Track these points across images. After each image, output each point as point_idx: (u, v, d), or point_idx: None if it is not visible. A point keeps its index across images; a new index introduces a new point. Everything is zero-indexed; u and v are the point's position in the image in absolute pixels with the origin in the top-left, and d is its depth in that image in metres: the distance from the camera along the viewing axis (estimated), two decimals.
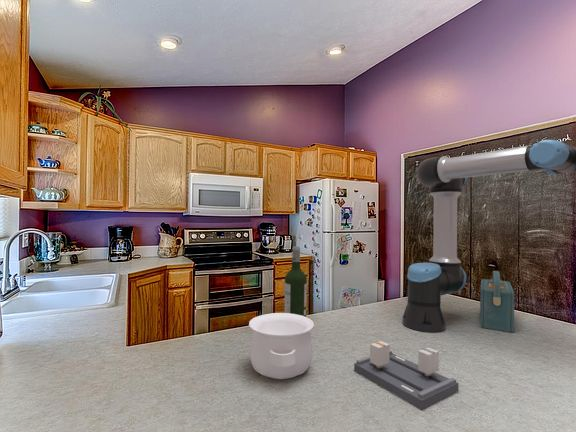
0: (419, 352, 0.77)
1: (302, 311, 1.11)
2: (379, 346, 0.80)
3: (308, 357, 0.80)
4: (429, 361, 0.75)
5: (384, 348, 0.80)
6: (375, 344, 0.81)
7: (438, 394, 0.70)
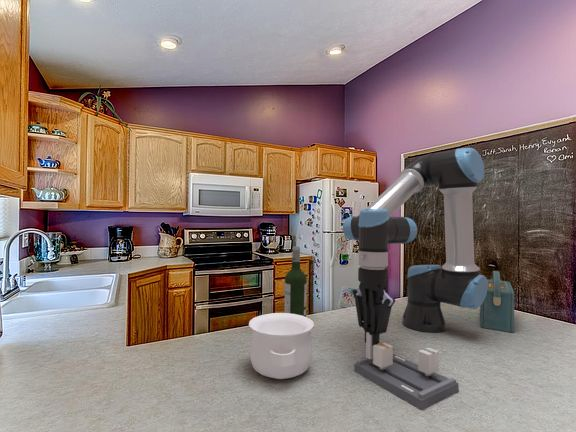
0: (419, 352, 0.77)
1: (302, 311, 1.11)
2: (382, 347, 0.79)
3: (308, 357, 0.80)
4: (429, 361, 0.75)
5: (388, 349, 0.79)
6: (378, 345, 0.80)
7: (438, 394, 0.70)
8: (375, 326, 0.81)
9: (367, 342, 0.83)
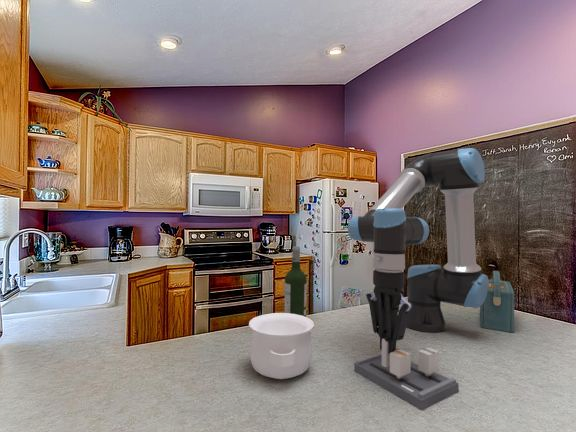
0: (419, 352, 0.77)
1: (302, 311, 1.11)
2: (400, 355, 0.74)
3: (308, 357, 0.80)
4: (429, 361, 0.75)
5: (405, 357, 0.75)
6: (395, 353, 0.76)
7: (438, 394, 0.70)
8: (391, 332, 0.77)
9: (383, 349, 0.78)
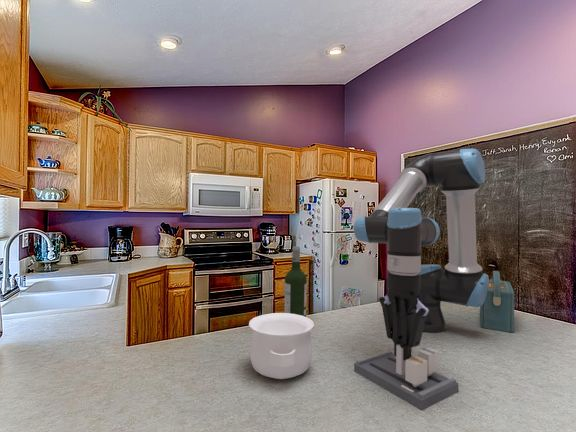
0: (419, 352, 0.77)
1: (302, 311, 1.11)
2: (416, 362, 0.71)
3: (308, 357, 0.80)
4: (429, 361, 0.75)
5: (422, 364, 0.71)
6: (411, 360, 0.72)
7: (438, 394, 0.70)
8: (407, 338, 0.73)
9: (397, 356, 0.75)
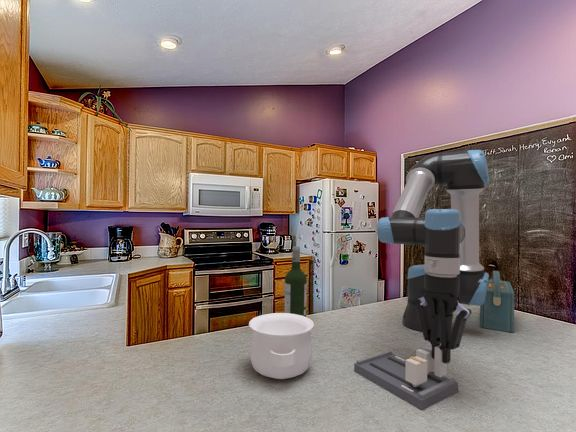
0: (417, 351, 0.78)
1: (302, 311, 1.11)
2: (416, 362, 0.71)
3: (308, 357, 0.80)
4: (427, 360, 0.76)
5: (422, 364, 0.71)
6: (411, 360, 0.72)
7: (438, 394, 0.70)
8: (446, 340, 0.73)
9: (436, 358, 0.74)
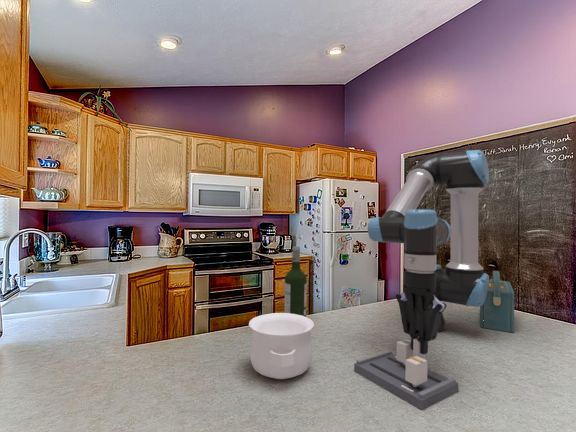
0: (397, 343, 0.82)
1: (302, 311, 1.11)
2: (416, 362, 0.71)
3: (308, 357, 0.80)
4: (406, 351, 0.81)
5: (422, 364, 0.71)
6: (411, 360, 0.72)
7: (438, 394, 0.70)
8: (424, 332, 0.78)
9: (414, 349, 0.79)
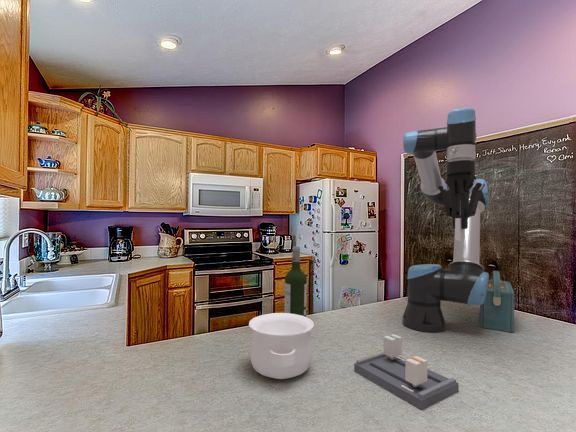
0: (384, 338, 0.86)
1: (302, 311, 1.11)
2: (416, 362, 0.71)
3: (308, 357, 0.80)
4: (393, 345, 0.84)
5: (422, 364, 0.71)
6: (411, 360, 0.72)
7: (438, 394, 0.70)
8: (465, 210, 0.93)
9: (456, 226, 0.94)
